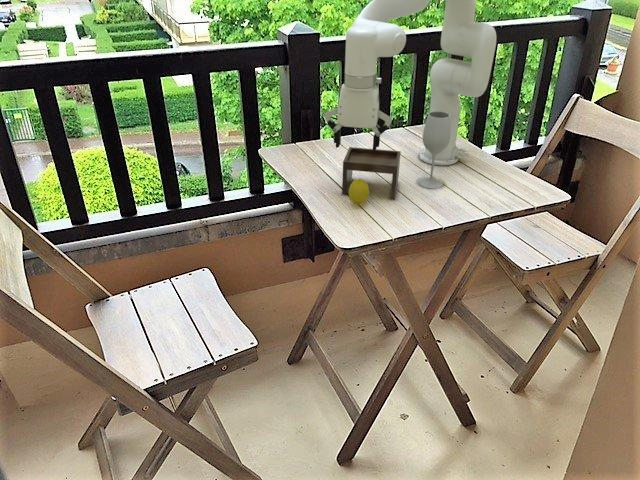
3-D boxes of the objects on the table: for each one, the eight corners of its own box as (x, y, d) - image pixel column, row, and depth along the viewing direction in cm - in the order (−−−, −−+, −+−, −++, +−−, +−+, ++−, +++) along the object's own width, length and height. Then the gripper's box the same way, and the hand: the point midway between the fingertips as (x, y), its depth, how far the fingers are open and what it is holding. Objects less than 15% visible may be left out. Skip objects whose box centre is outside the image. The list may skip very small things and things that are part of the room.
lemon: (367, 211, 142) (368, 184, 138) (346, 209, 143) (347, 182, 139) (369, 201, 147) (371, 175, 143) (349, 199, 148) (350, 173, 144)
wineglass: (444, 180, 159) (454, 112, 148) (441, 190, 153) (451, 120, 142) (420, 176, 162) (427, 109, 150) (415, 186, 155) (423, 117, 144)
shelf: (397, 183, 157) (400, 151, 152) (394, 199, 148) (397, 166, 143) (348, 178, 160) (349, 146, 155) (342, 194, 151) (343, 161, 145)
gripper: (396, 79, 130) (390, 145, 139) (328, 74, 133) (326, 139, 142) (393, 87, 124) (387, 156, 133) (321, 82, 127) (320, 149, 136)
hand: (356, 147), depth 137 cm, fingers open, 9 cm apart
